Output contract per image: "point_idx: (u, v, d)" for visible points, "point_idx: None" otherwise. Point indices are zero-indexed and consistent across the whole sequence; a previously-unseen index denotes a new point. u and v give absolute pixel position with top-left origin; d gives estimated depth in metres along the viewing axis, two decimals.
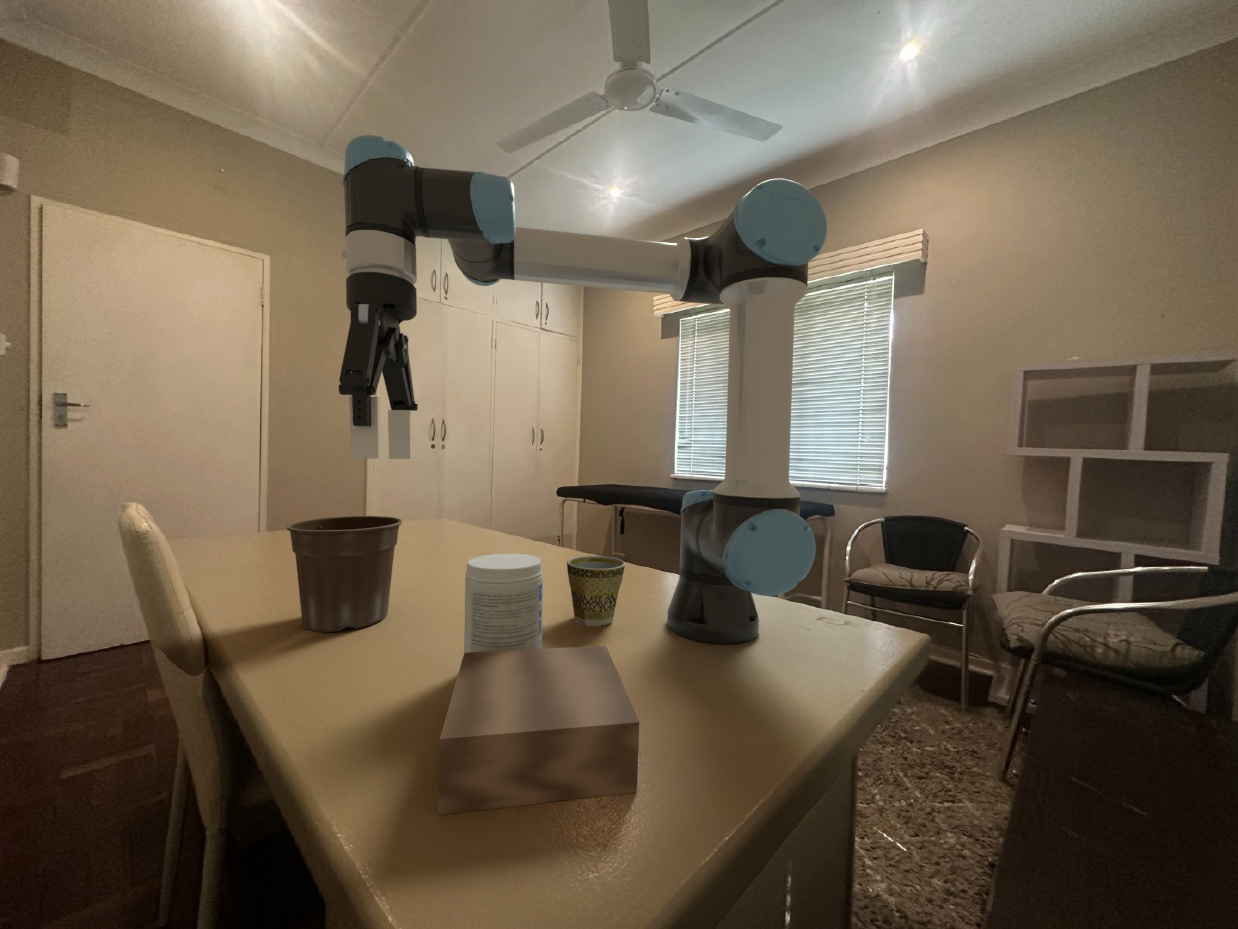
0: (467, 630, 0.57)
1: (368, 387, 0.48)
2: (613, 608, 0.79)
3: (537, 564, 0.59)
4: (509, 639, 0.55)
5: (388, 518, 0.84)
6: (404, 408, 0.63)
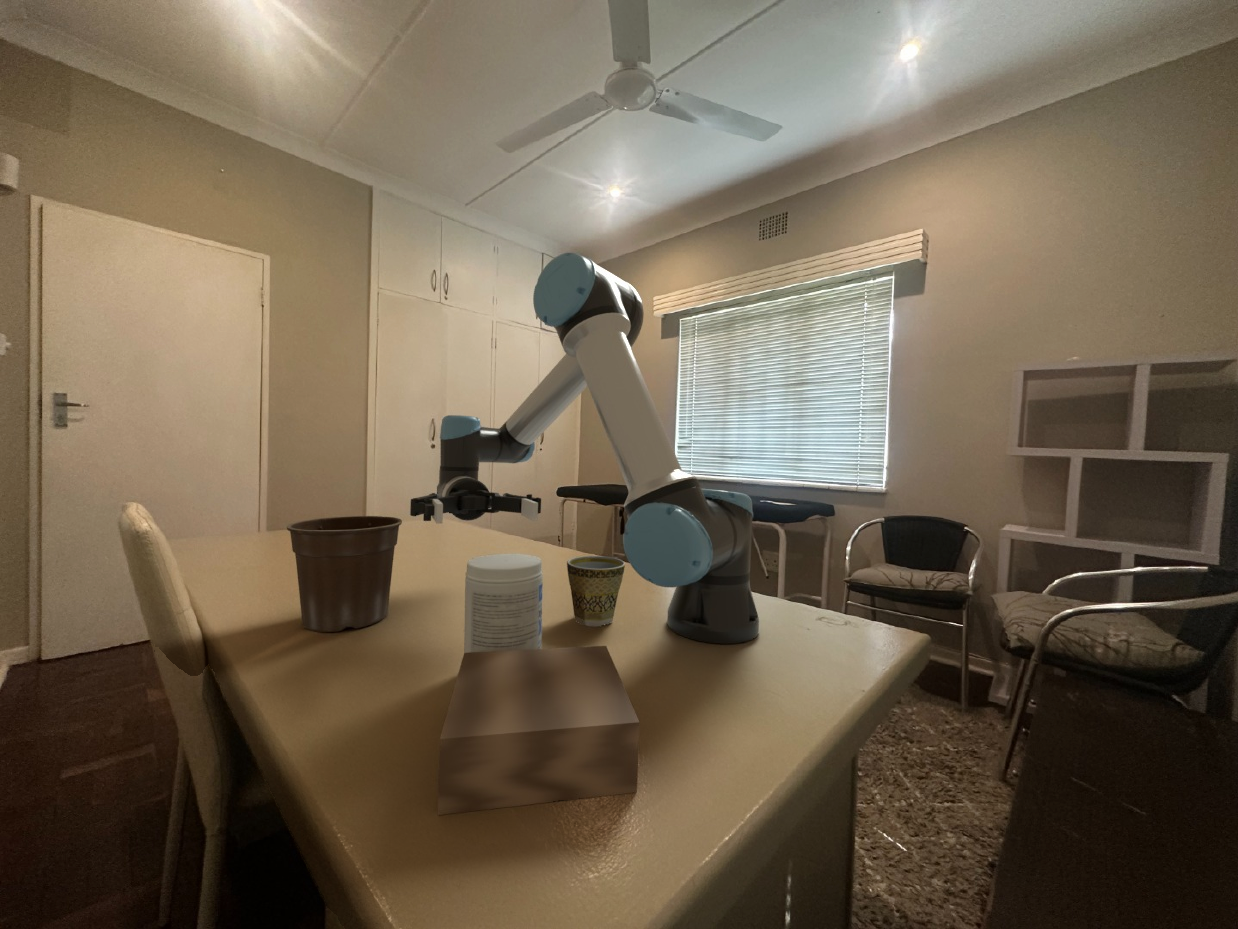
0: (467, 629, 0.57)
1: (424, 502, 0.71)
2: (613, 608, 0.79)
3: (537, 564, 0.59)
4: (509, 639, 0.55)
5: (388, 518, 0.84)
6: None
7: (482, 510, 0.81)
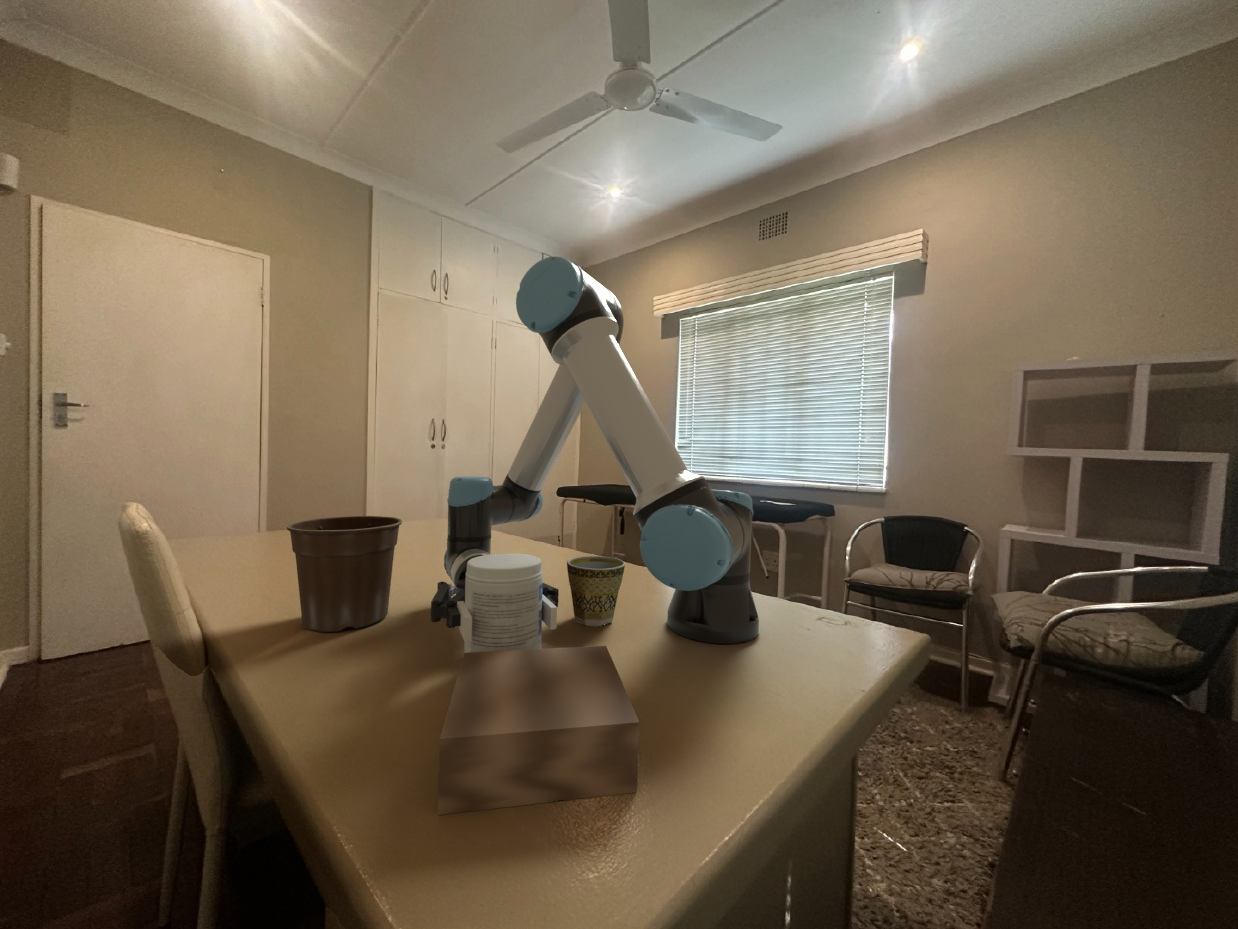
0: None
1: (446, 605, 0.59)
2: (613, 608, 0.79)
3: (537, 564, 0.59)
4: (509, 639, 0.55)
5: (388, 518, 0.84)
6: None
7: None
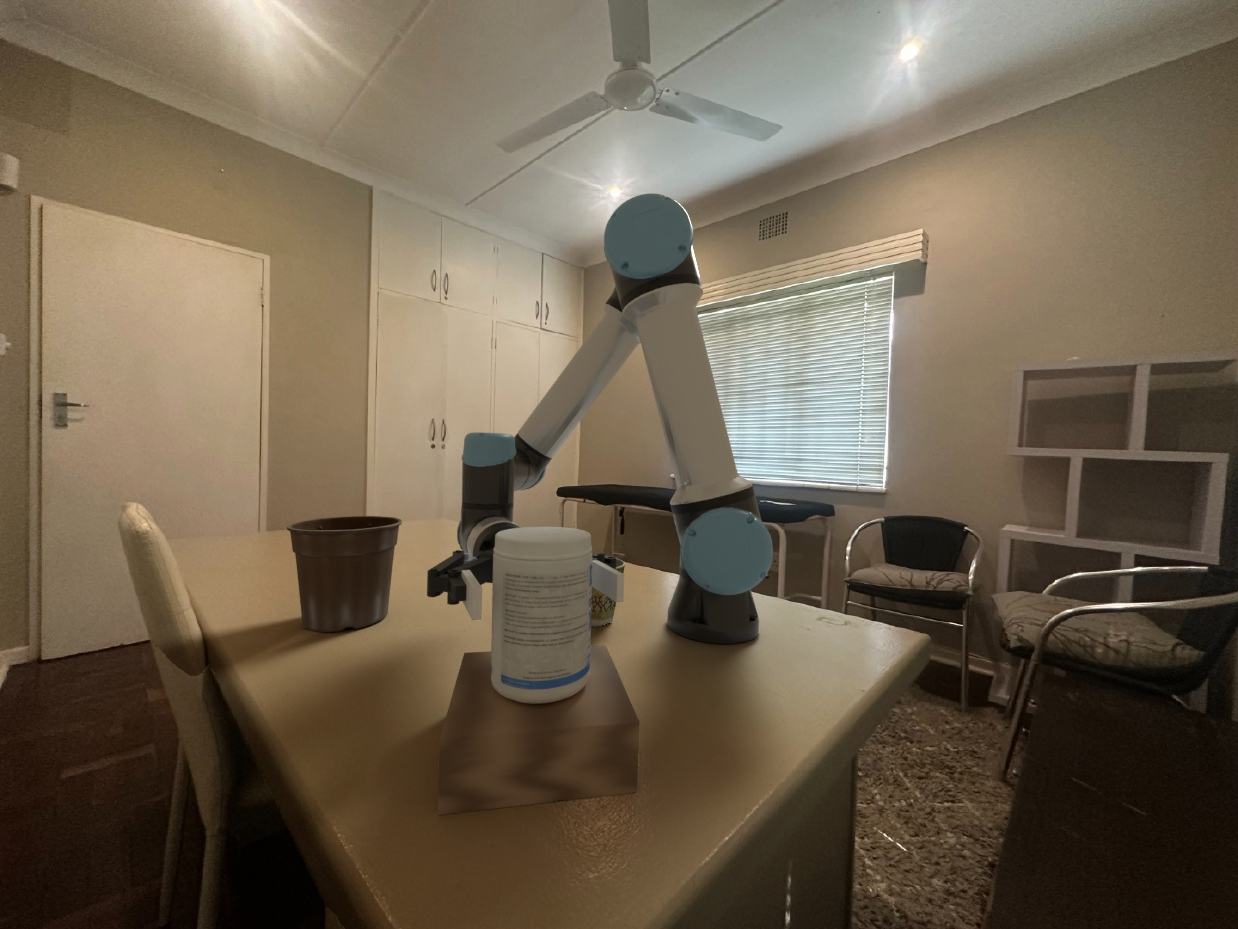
0: (496, 623, 0.43)
1: (448, 574, 0.46)
2: (613, 608, 0.79)
3: (587, 537, 0.45)
4: (553, 635, 0.41)
5: (388, 518, 0.84)
6: None
7: None
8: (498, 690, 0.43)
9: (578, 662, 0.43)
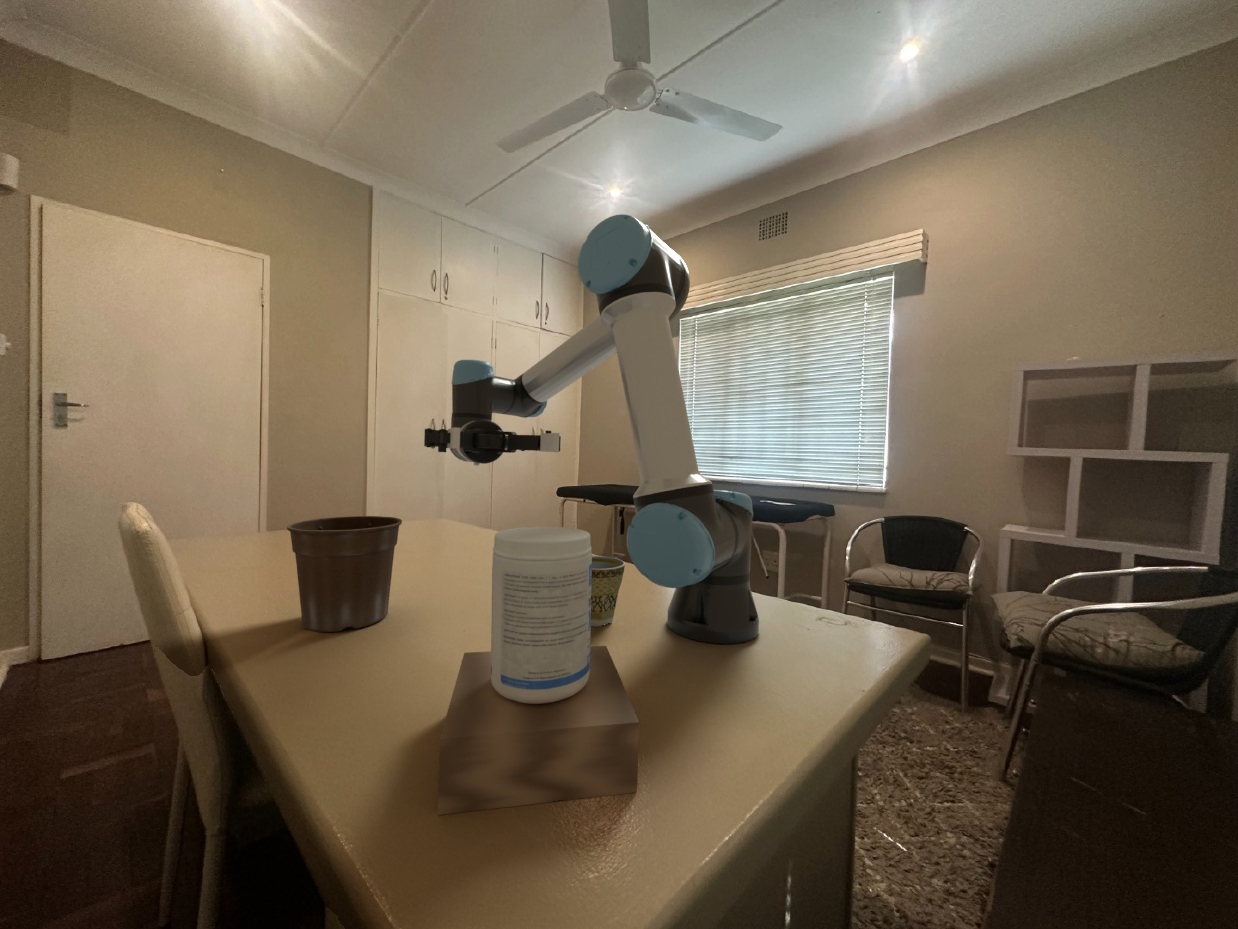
0: (495, 623, 0.43)
1: (438, 432, 0.67)
2: (613, 608, 0.79)
3: (587, 537, 0.45)
4: (552, 635, 0.41)
5: (388, 518, 0.84)
6: None
7: (498, 450, 0.77)
8: (498, 690, 0.43)
9: (578, 662, 0.43)
